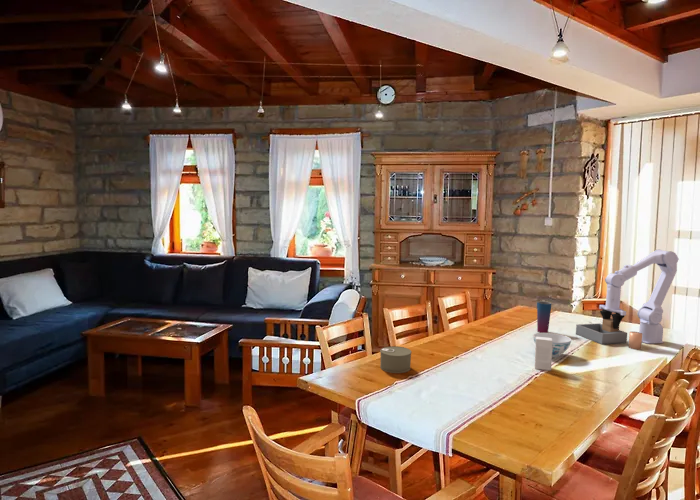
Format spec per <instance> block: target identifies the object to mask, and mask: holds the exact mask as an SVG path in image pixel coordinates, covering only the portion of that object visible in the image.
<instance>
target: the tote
mask: <svg viewBox="0 0 700 500" xmlns="http://www.w3.org/2000/svg"><path fill="white" fill-rule="evenodd" d="M575 335H576V336H579V337H582V338H584V339H587V340H590V341H591V342H594V343H597V344H600V345H604V346H605V345H618V344H627V343H628V332H626V331H624V330H621V329H619V332H608V331H605V330H602V323H600V322H598V323H584V324H583V323H582V324H581V323H579V324H578V323H577V324H576V326H575Z"/></svg>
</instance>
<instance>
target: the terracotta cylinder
mask: <svg viewBox="0 0 700 500" xmlns="http://www.w3.org/2000/svg"><path fill="white" fill-rule="evenodd" d="M642 343H643V342H642V333H640V332H638V331H629V336H628V348H629V349H631V350H636V351H640V350H642V347H643V345H642Z"/></svg>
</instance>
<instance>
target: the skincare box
mask: <svg viewBox="0 0 700 500" xmlns="http://www.w3.org/2000/svg"><path fill="white" fill-rule="evenodd" d="M552 342H553V341H552V338H546V337H536V343H535V342H534V344H535V347H534V350H535V351H534V369H536V370H541V371H542V370H543V371H551V370H552V358H553V357H552Z"/></svg>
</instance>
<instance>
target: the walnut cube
mask: <svg viewBox="0 0 700 500" xmlns="http://www.w3.org/2000/svg"><path fill="white" fill-rule="evenodd" d="M601 324H602V330H605V331H608V332H619V330H620V326H619V327H618V329H614V328H613V318H610V319H603V318H602V323H601Z"/></svg>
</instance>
